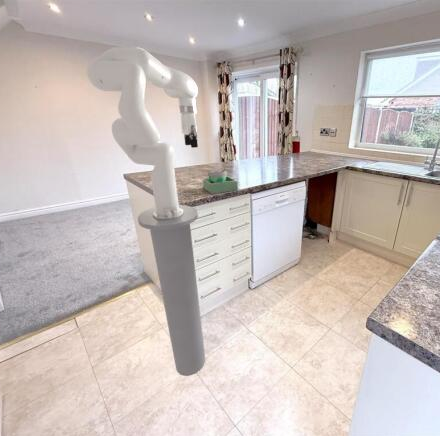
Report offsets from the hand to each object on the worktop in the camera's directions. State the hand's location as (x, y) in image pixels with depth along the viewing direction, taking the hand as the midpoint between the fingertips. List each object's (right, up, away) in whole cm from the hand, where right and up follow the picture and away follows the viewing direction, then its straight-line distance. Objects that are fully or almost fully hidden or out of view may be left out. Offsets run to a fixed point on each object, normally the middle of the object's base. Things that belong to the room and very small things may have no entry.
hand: (191, 146), depth 127 cm
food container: (+10, -19, +21) cm, 30 cm away
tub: (+10, -20, +21) cm, 31 cm away
